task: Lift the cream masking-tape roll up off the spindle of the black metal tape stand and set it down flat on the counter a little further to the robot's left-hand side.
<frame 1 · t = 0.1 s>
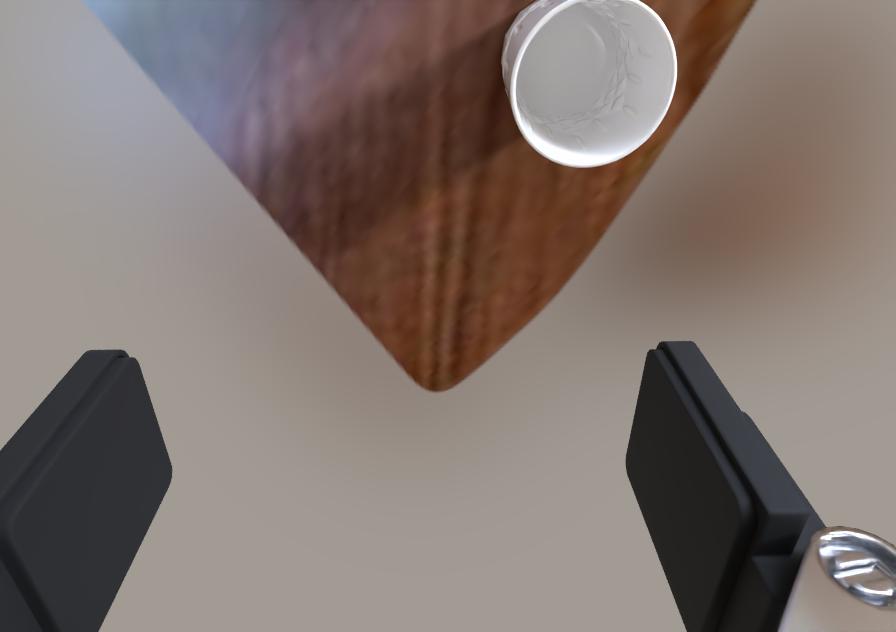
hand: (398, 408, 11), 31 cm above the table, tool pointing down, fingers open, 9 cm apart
white cup: (554, 54, 37), on the table
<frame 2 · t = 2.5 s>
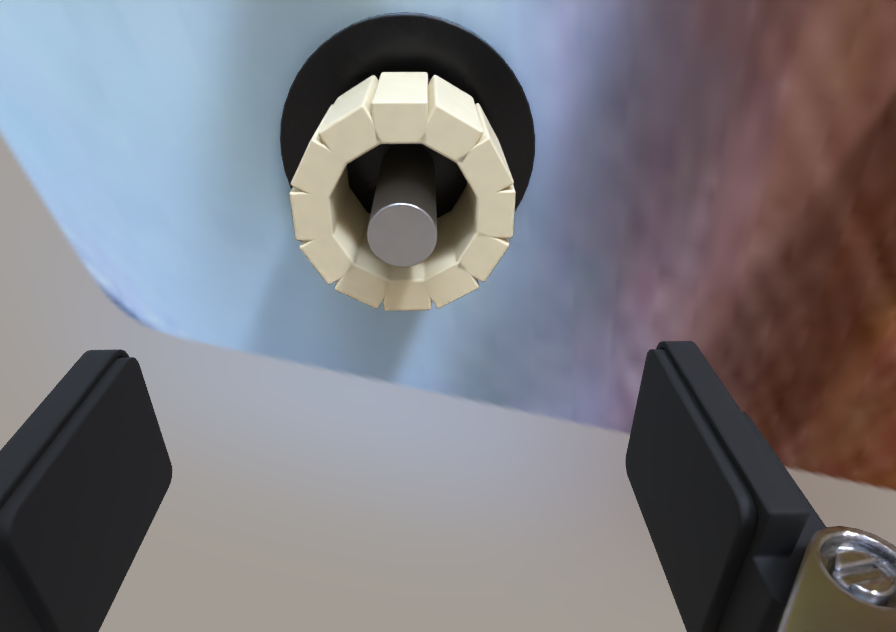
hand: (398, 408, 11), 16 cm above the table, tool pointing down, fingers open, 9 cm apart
tape roll: (407, 169, 22), point 2 cm above the table, touching tape stand
tape stand: (409, 150, 24), on the table
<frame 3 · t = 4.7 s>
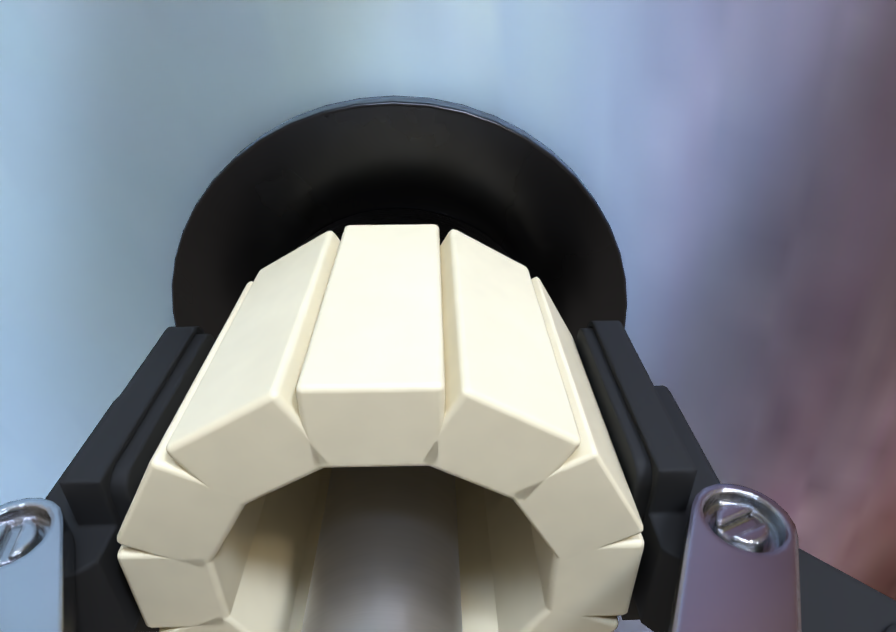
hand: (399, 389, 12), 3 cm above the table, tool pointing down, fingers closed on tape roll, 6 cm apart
tape roll: (399, 383, 12), point 2 cm above the table, touching gripper, tape stand
tape stand: (403, 320, 14), on the table
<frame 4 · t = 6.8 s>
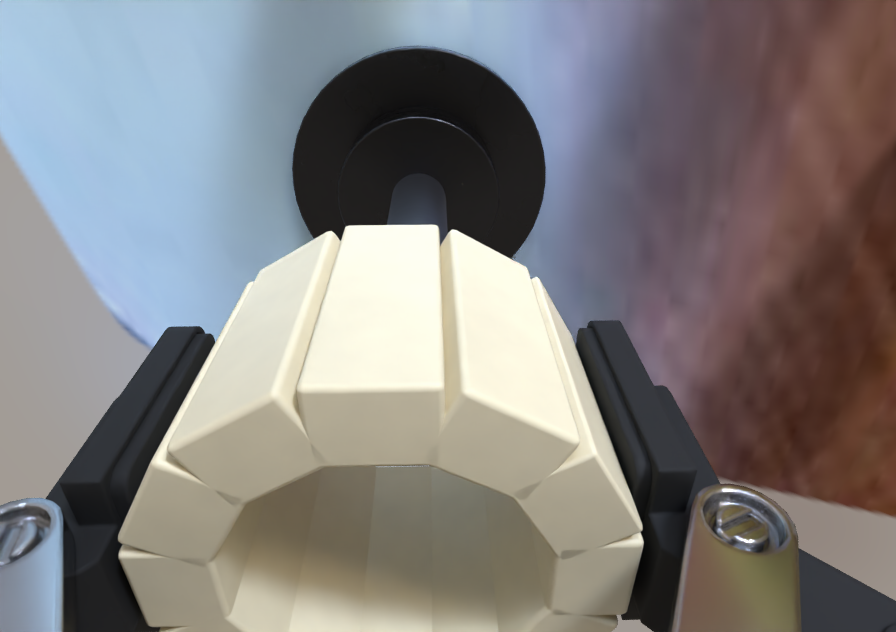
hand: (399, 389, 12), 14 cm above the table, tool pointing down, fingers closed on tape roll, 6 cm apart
tape roll: (400, 383, 12), point 14 cm above the table, touching gripper
tape stand: (420, 180, 25), on the table
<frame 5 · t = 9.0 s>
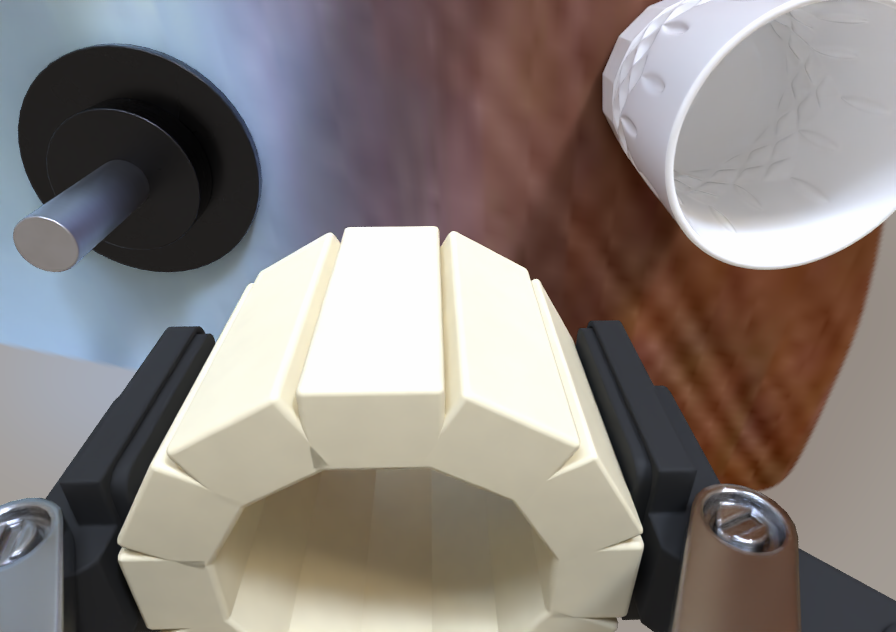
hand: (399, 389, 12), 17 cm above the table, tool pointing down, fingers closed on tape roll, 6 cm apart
tape roll: (399, 385, 12), point 17 cm above the table, touching gripper
tape stand: (147, 165, 27), on the table
white cup: (677, 79, 26), on the table
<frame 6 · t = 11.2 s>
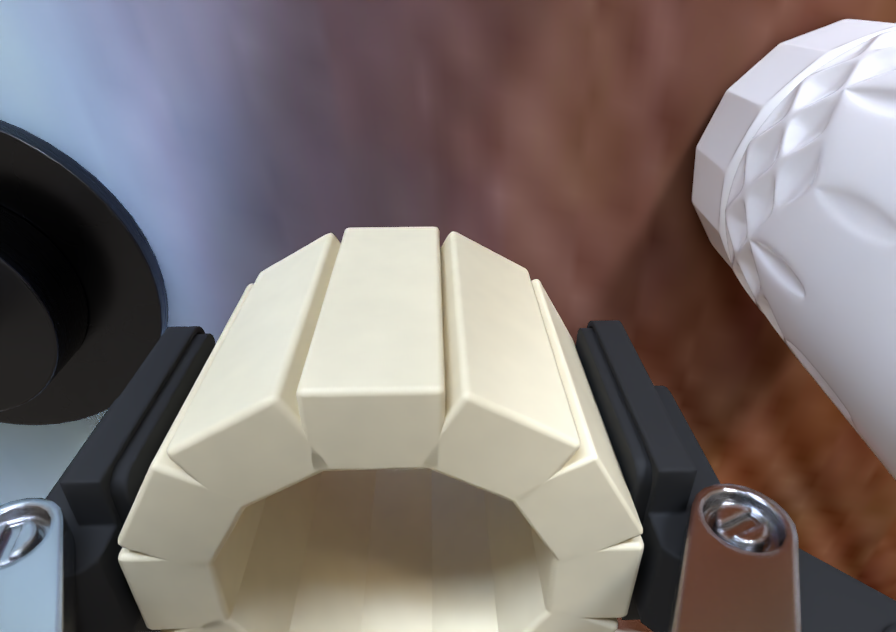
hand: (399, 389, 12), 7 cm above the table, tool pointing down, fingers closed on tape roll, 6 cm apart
tape roll: (400, 385, 12), point 6 cm above the table, touching gripper
white cup: (810, 153, 17), on the table
when the fingers open (0 cm above the table, at t = 13.2 s): tape roll stays where it is, on the table.
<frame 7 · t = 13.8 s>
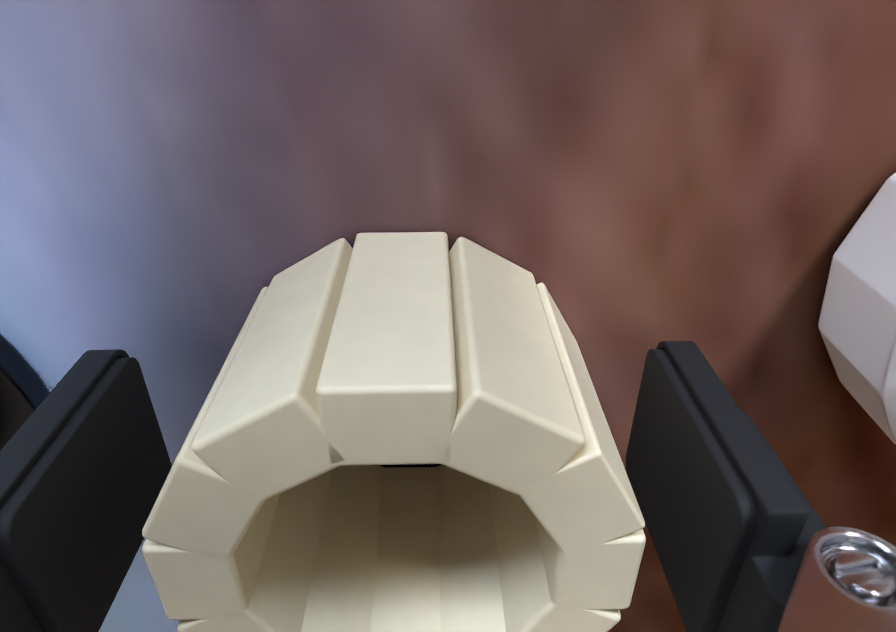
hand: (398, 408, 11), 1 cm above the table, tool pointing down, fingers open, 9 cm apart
tape roll: (408, 386, 12), on the table
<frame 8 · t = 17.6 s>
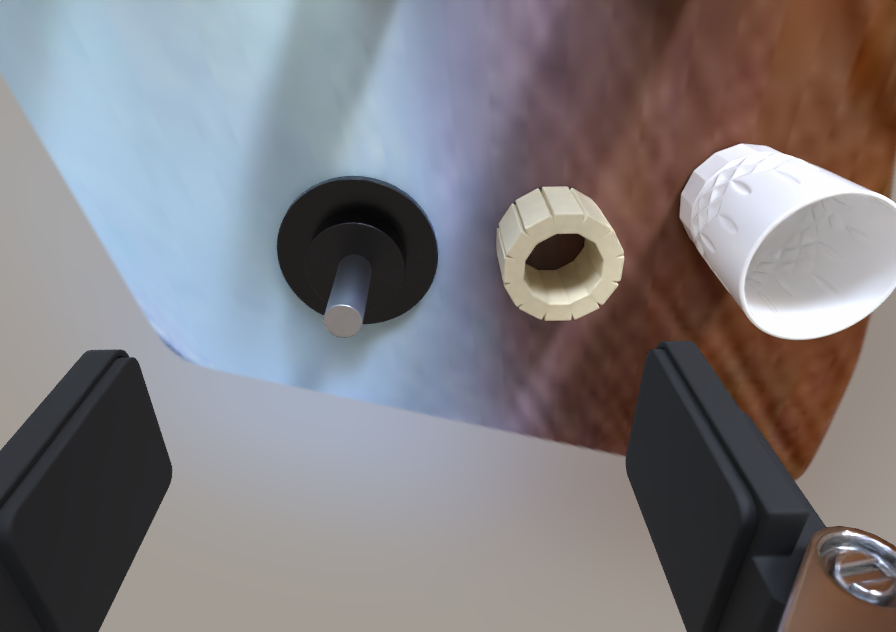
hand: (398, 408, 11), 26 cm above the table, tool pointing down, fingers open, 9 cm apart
tape roll: (550, 238, 38), on the table
tape stand: (358, 252, 38), on the table
white cup: (732, 196, 37), on the table
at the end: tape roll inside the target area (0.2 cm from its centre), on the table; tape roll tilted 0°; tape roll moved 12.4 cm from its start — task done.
